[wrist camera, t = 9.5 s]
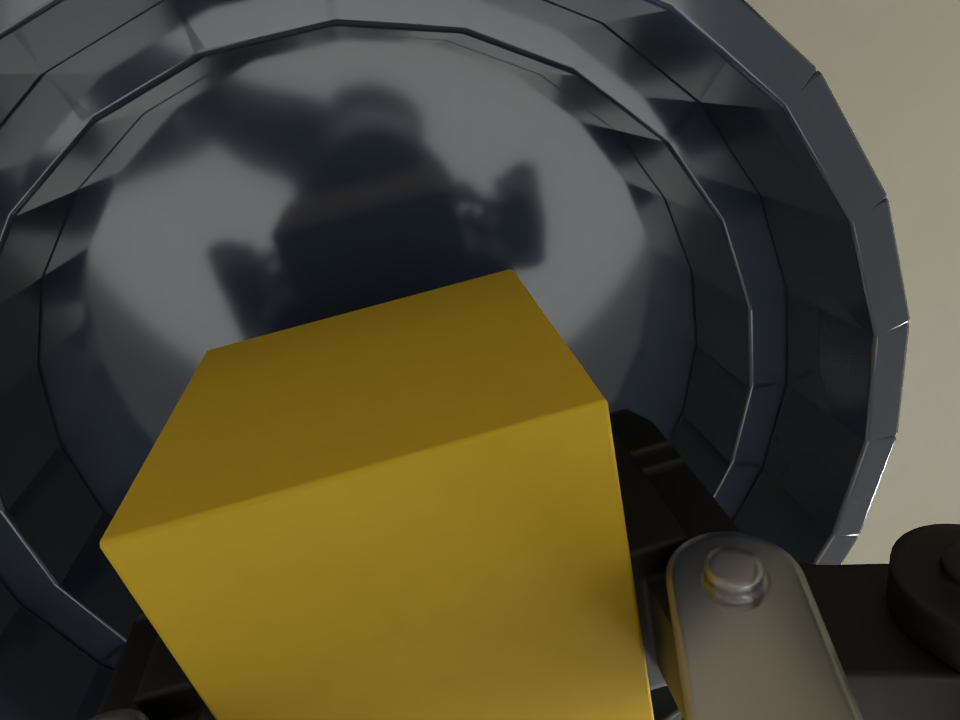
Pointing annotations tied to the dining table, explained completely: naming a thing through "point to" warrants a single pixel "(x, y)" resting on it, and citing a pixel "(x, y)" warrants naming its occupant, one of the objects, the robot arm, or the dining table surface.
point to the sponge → (392, 522)
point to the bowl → (423, 249)
